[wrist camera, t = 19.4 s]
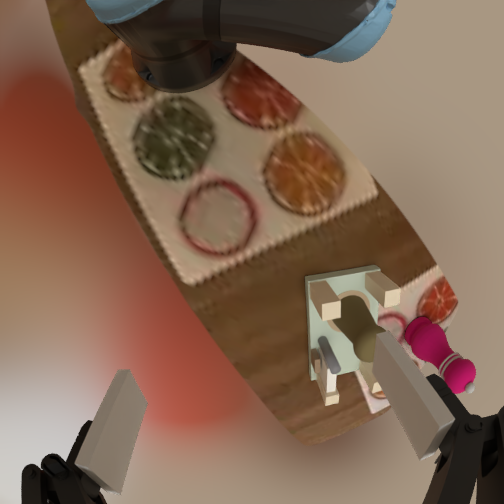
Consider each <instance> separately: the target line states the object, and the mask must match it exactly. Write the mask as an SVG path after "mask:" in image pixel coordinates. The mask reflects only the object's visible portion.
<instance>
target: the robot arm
mask: <svg viewBox="0 0 504 504" xmlns="http://www.w3.org/2000/svg"><path fill="white" fill-rule="evenodd" d="M86 2H87V4H88V5H89V7H90V8H91V9H92V10H93V11H94V12H95V15H96V17H97V19H98V20H99V21H100V22H102V23H104V24H105V25H106V26H107V27H108V28H109V29H110V30H111V31H112V32H113V33H114V34H116V35H117V36H118V37H119V38H120V39H121V40H122V41H123V42H124V43H125V44H126V45H127V46H128V47H129V48H130V49H131V54H132V61H133V65H134V68H135V70H136V72H137V73H138V75H139V76H140V77H141V78H142V79H143V80H144V81H145V82H147V83H148V84H149V85H150V86H152V87H154V88H156V89H158V90H161V91H165V92H171V93H183V92H189V91H194V90H197V89H200V88H202V87H205V86H207V85H209V84H210V83H212V82H214V81H215V80H216V79H218V78H219V77H220V76H221V75H222V74H223V73H224V72H225V71H226V70H227V69H228V67H229V66H230V65H231V63H232V61H233V59H234V56H235V53H236V46H237V45H236V44H237V43H241V44H249V45H256V46H263V47H269V48H274V49H280V50H285V51H290V52H295V53H299V54H300V55H301V56H303V57H307V58H320V59H325V60H329V61H333V62H337V63H343V62H349V61H354V60H356V59H358V58H360V57H361V56H363V55H364V54H366V53H367V52H368V51H369V50H370V49H371V48H372V47H373V46H374V45H375V44H376V43H377V41H378V40H379V39H380V38H381V36H382V35H383V33H384V32H385V30H386V29H387V27H388V25H389V23H390V21H391V18H392V14H391V13H390V12H391V11H392V9H393V8H394V7H395V5H396V0H86ZM372 373H373V374H374V376H375V378H376V380H377V382H378V383H379V385H380V387H381V389H382V390H383V392H384V394H385V396H386V398H387V399H388V401H389V403H390V405H391V407H392V408H393V410H394V412H395V414H396V416H397V418H398V420H399V421H400V423H401V425H402V427H403V429H404V431H405V432H406V435H407V437H408V438H409V440H410V442H411V444H412V446H413V448H414V450H415V452H416V454H417V456H418V458H419V460H420V461H421V460H423V459H425V458H427V457H429V456H431V455H433V454H434V453H435V452H436V450H437V449H438V447H439V449H440V451H441V454H440V455H439V457H438V458H437V459H436V461H435V464H436V463H437V462H438V463H437V466H436V469H435V472H434V475H433V478H432V481H431V484H430V486H429V489H428V492H427V494H426V497H425V499H424V501H423V504H470V500H471V497H472V494H473V490H474V486H475V482H476V478H477V496H476V504H504V406H503V407H502V408H501V409H500V411H499V412H498V414H495V415H491V416H488V417H484V418H481V417H480V416H478V415H474V414H473V415H471V414H470V413H469V412H468V411H467V410H466V408H465V407H464V406H463V404H462V403H461V402H460V400H459V399H458V398H457V397H456V395H455V394H454V393H453V392H452V390H451V389H450V387H448V385H447V384H446V382H445V381H444V380H443V379H442V378H441V377H439V376H437V375H436V374H432V375H430V376H427V377H425V376H424V375H423V373H422V372H421V371H420V369H419V368H418V367H417V366H416V364H415V363H414V362H413V360H412V359H411V358H410V356H409V355H408V354H407V353H406V351H405V350H404V349H403V347H402V346H401V345H400V344H399V342H398V341H397V340H396V339H395V337H394V336H393V335H392V334H391V332H390V331H386V332H382V333H379V334H376V344H375V353H374V362H373V369H372ZM147 404H148V403H147V401H146V399H145V397H144V396H143V394H142V392H141V390H140V388H139V387H138V385H137V383H136V381H135V379H134V377H133V375H132V373H131V371H130V370H118V371H117V373H116V375H115V377H114V379H113V381H112V383H111V385H110V387H109V389H108V391H107V393H106V395H105V397H104V399H103V401H102V403H101V405H100V407H99V409H98V411H97V414H96V416H95V418H94V420H93V421H90V420H88V421H87V422H86V423H85V424H84V425H83V426H82V428H81V430H80V432H79V436H77V438H76V442H75V443H74V445H73V447H72V449H71V451H70V453H69V456H68V458H67V460H66V462H65V461H64V460H63V459H62V458H61V457H60V456H59V455H58V454H48V455H47V456H45V457H44V458H43V460H42V462H41V468H42V469H43V470H41V469H40V468H39V467H38V466H36V465H35V464H29V465H27V466H26V467H25V468H24V469H23V471H22V486H21V488H22V489H21V490H22V491H21V492H22V495H21V496H22V504H107V503H106V501H105V499H104V497H103V495H102V494H101V492H100V488H103V489H104V490H105V491H106V492H109V493H113V494H118V495H121V492H122V487H123V484H124V480H125V477H126V473H127V470H128V466H129V462H130V459H131V455H132V452H133V449H134V445H135V442H136V439H137V436H138V432H139V429H140V426H141V423H142V420H143V416H144V413H145V410H146V407H147Z"/></svg>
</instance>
